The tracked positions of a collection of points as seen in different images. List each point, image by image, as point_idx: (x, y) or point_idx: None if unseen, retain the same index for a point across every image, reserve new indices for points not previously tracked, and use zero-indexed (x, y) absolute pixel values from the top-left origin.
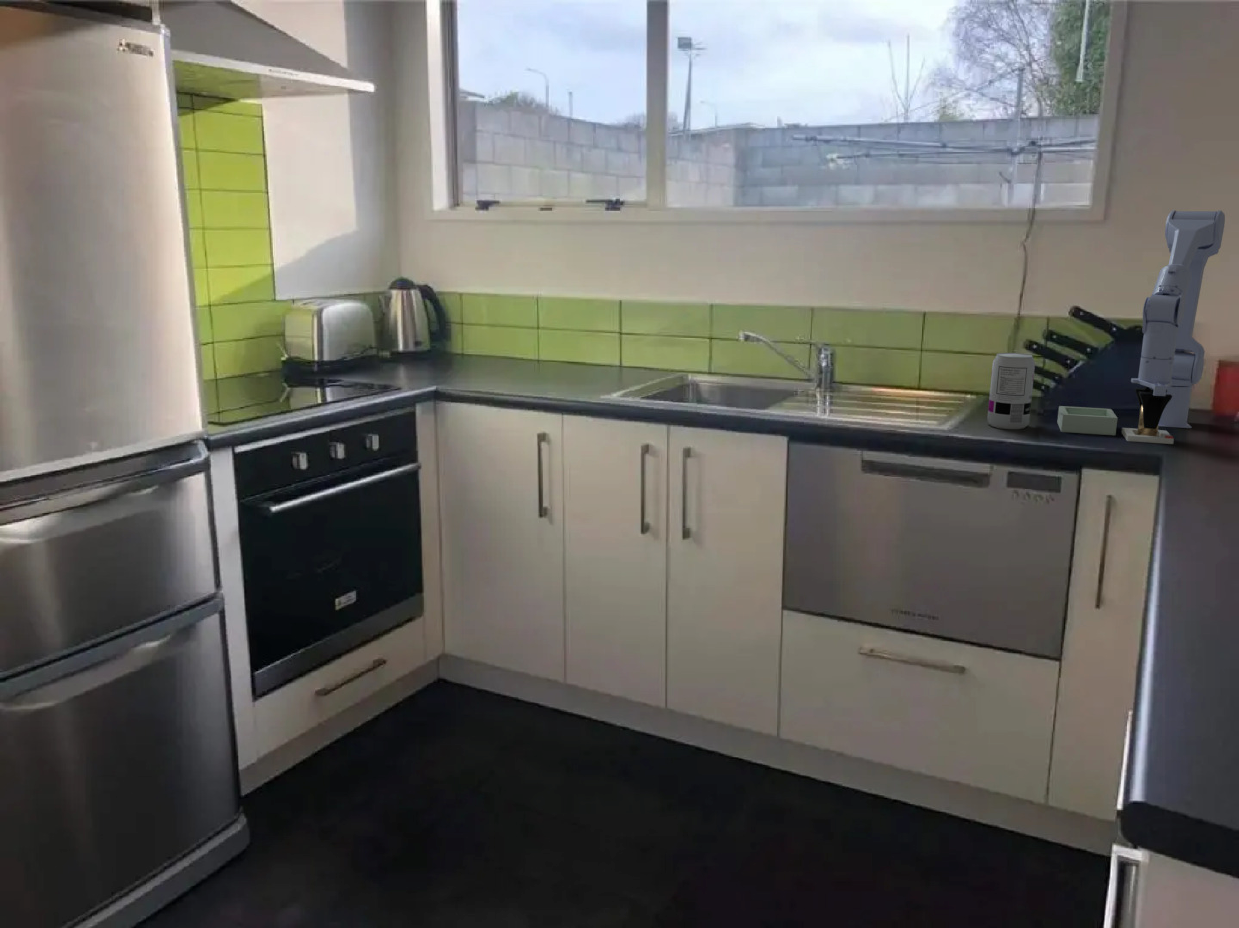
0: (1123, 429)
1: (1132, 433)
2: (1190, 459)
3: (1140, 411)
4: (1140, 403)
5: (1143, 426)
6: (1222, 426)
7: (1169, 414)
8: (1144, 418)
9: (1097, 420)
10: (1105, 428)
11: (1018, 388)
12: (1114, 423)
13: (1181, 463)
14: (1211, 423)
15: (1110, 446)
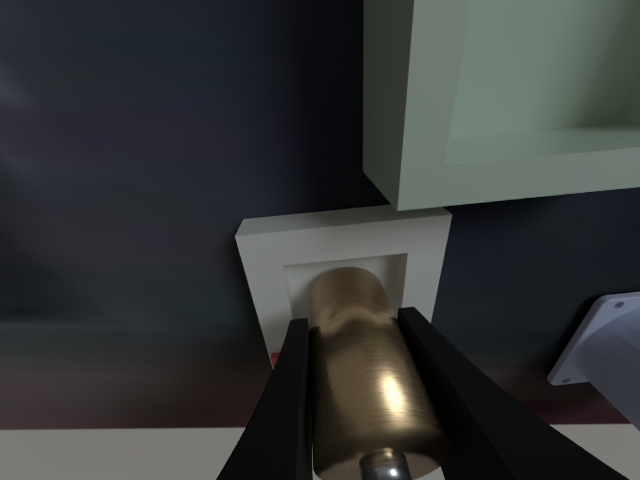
0: (406, 219)
1: (310, 255)
2: (98, 376)
3: (368, 374)
4: (472, 422)
5: (317, 318)
6: (590, 416)
7: (628, 382)
8: (275, 364)
9: (399, 34)
10: (374, 118)
11: None
12: (385, 180)
13: (4, 361)
14: None
15: (108, 141)
